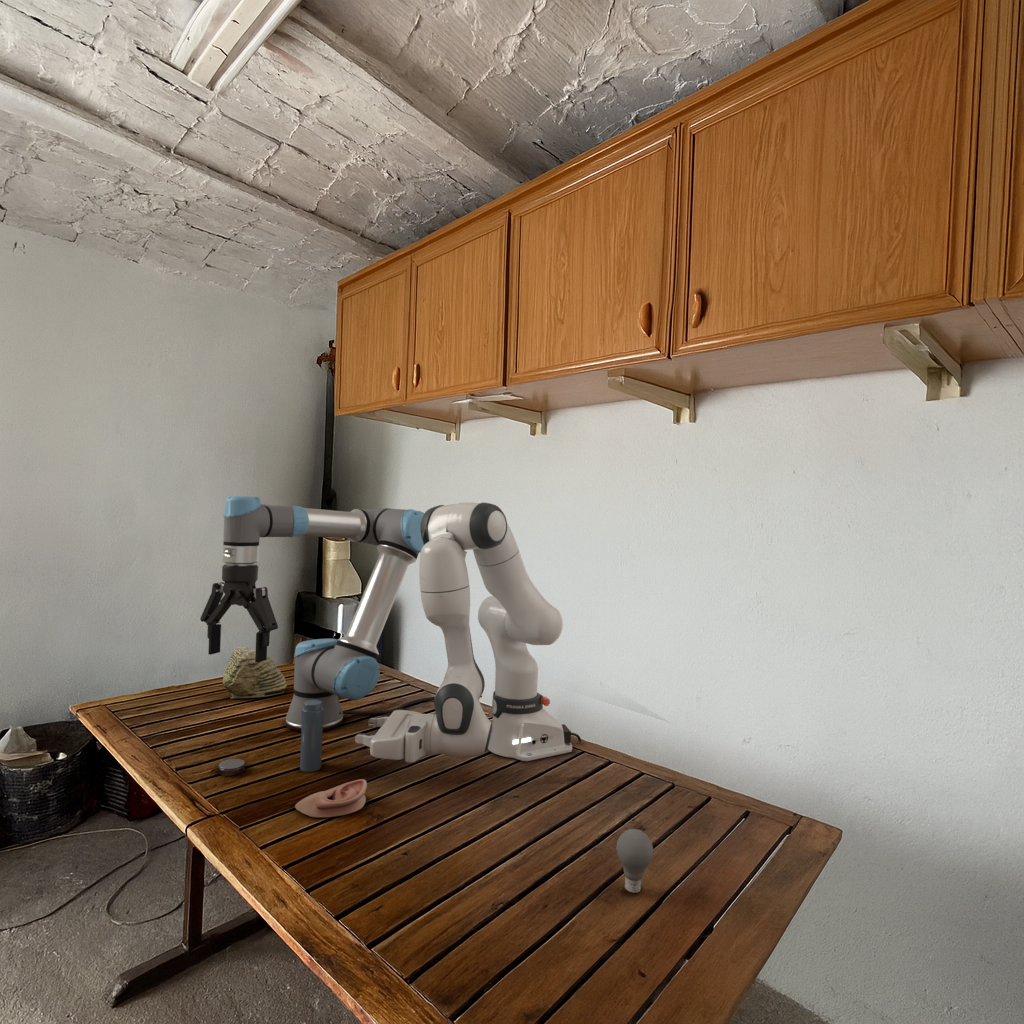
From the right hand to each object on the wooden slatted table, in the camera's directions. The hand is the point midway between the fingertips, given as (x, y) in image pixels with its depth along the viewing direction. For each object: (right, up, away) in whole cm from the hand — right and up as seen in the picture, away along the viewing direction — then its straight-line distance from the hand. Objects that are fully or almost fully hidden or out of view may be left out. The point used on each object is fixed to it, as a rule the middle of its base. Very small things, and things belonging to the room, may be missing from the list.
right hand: (362, 730), depth 147 cm
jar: (-12, -9, +1) cm, 15 cm away
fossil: (-46, -7, +51) cm, 69 cm away
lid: (-29, -7, -3) cm, 30 cm away
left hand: (-28, +18, -3) cm, 33 cm away
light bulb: (+55, -13, -41) cm, 70 cm away
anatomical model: (-3, -10, -17) cm, 20 cm away
